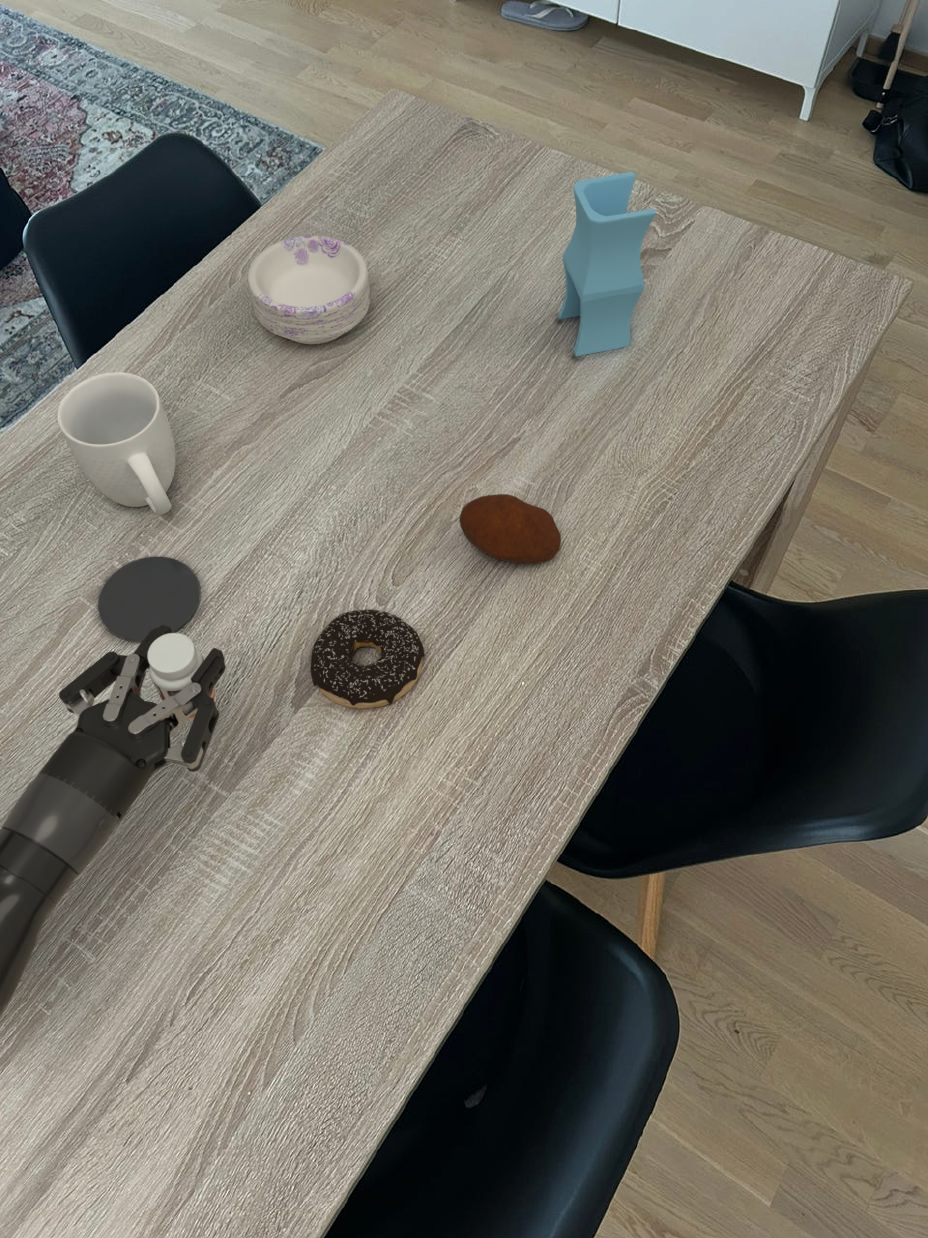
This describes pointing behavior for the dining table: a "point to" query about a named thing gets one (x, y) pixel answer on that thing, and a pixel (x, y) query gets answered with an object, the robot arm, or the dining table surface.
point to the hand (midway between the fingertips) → (194, 642)
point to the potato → (510, 529)
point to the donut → (367, 681)
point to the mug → (121, 438)
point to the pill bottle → (174, 664)
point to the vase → (604, 263)
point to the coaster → (148, 597)
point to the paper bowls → (309, 288)
